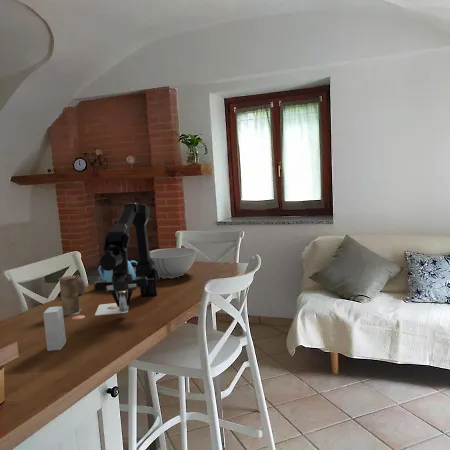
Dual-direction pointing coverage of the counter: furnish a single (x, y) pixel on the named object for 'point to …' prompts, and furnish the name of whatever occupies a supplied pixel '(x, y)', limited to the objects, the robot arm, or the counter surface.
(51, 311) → the skincare box
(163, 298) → the counter surface
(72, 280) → the tan tall block
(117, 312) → the board
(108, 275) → the decorative pot
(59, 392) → the counter surface
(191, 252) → the decorative bowl
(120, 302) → the pin
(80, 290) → the vase
